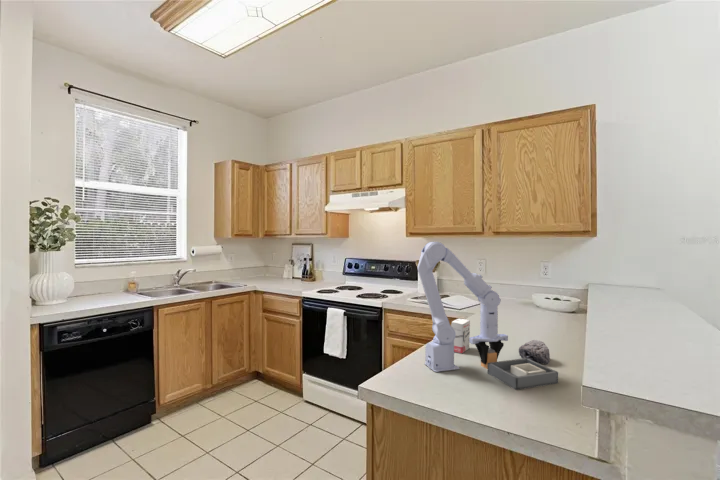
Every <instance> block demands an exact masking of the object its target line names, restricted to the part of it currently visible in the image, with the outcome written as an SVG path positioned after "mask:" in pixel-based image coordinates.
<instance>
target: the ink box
mask: <svg viewBox="0 0 720 480" xmlns="http://www.w3.org/2000/svg"><path fill="white" fill-rule="evenodd" d="M450 325H451V327H452V328H453V329H454V330H455V333H456V336H455V339H454V353H456V354H457V353H458V354H463V353H465V352H466V351H467V350H469V349H470V343H469V337H471V335H470V333H471V332H470V331H471V330H470V329H471V320H469V319H466V318H456V319H454V320H453V321H451V324H450Z"/></svg>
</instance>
